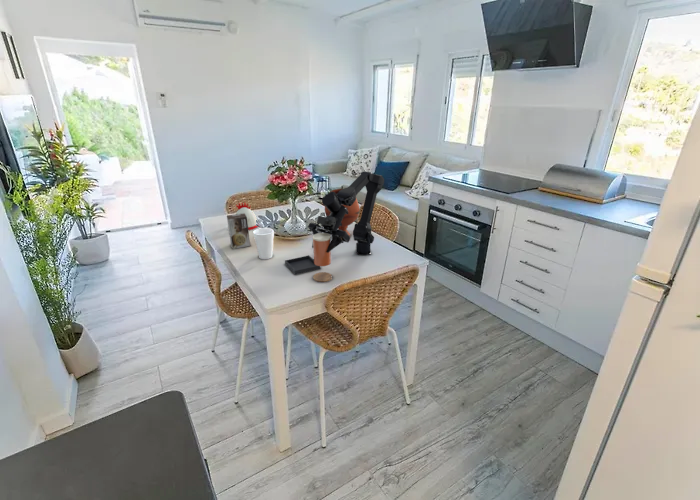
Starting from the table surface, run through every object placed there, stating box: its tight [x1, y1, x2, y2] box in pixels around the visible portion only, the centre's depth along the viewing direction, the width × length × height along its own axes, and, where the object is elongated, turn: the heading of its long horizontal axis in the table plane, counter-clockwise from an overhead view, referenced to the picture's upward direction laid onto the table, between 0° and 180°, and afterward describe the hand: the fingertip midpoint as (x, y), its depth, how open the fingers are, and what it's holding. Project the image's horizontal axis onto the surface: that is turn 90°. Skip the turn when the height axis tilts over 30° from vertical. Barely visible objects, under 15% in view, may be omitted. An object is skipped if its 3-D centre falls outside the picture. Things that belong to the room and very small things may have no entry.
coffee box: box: [226, 213, 251, 250], centre depth 177 cm, size 9×6×16 cm
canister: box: [312, 233, 332, 267], centre depth 144 cm, size 7×7×12 cm
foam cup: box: [252, 227, 275, 260], centre depth 166 cm, size 10×9×13 cm
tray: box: [284, 254, 321, 276], centre depth 159 cm, size 12×12×2 cm
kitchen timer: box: [235, 202, 259, 231], centre depth 204 cm, size 14×14×15 cm
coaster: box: [312, 271, 333, 283], centre depth 149 cm, size 8×8×1 cm
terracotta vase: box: [324, 188, 360, 237], centre depth 191 cm, size 19×19×25 cm
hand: (319, 250), depth 143 cm, fingers closed on canister, 7 cm apart
